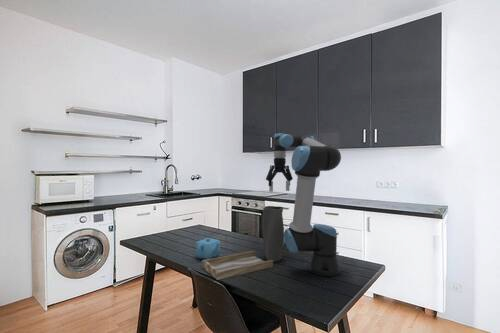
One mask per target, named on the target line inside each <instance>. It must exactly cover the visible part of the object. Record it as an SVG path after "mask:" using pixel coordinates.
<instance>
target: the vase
mask: <svg viewBox="0 0 500 333" xmlns="http://www.w3.org/2000/svg"><path fill="white" fill-rule="evenodd" d="M283 210H284V206H275V205H266V206H264V207H263V210H262V218H261V221H262V222H261V230H262V231H261V234H262V244H263V252H264V253H263V255H264V257H265V259H266V261H269V260H273V263H274V262H280V261H281V260H282V259H283V256H284V254H283V253H284V246H283V238H284V239H285V237H284V232H285V227H284V219H283V218H284V217H283ZM283 227H284V228H283Z"/></svg>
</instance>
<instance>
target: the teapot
mask: <svg viewBox="0 0 500 333" xmlns="http://www.w3.org/2000/svg"><path fill="white" fill-rule="evenodd" d="M221 244H222V242H221V240H220V239H214V238H210V237H206V238H204V239H201V240H197V241H196V242H195V257H197V258H198V259H200V260H202V259H203V260H207V259H212V258H217V256H219V255H221Z"/></svg>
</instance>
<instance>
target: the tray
mask: <svg viewBox="0 0 500 333" xmlns="http://www.w3.org/2000/svg"><path fill="white" fill-rule="evenodd" d="M273 267H274V262H273V260H269V261H267V260H265V261H264V260H263V259H261V258H259V257H257V256H256V251H255V250H252V251H245V252H239V253H235V254H234V253H233V254H230V255H224V256H220V257H219V256H218V257H216V258H213V257H212V258H210V259H203V260H202V259H201V268H202V269H204V270H205V271H206V272H207V273H208V274H209V275H211V276H212V277H213V278H214V279H216V280H217V281H219V280H224V279H228V278H233V277H236V276H240V275H244V274H248V273H253V272H258V271H262V270H267V269H271V268H273Z"/></svg>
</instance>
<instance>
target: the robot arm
mask: <svg viewBox="0 0 500 333" xmlns="http://www.w3.org/2000/svg"><path fill="white" fill-rule="evenodd" d="M286 148H292V149H293V148H295V149H294V151H293V153H292V157H291V160H290V161H291V169H292V170H293V171H294V175H296V176H297V177H296V178H297V179H296V180H297V181H296V189H295V199H294V208H293V219H292V221H291V222H290V223H289V225H288V228H284V243H285V245H286V248H287V250H288V251H289V252H290V253H298V254H299V253H306V252H307V253H308V252H312V256H311V260H310V263H309V272H311V273H313V274H315V275H318V276H322V277H334V276H339V275H340V274H341V273H340V272H341V266H340V265H339V262H338V257H337V248H338V244H337V240H338V239H337V238H338V234H337V229H336V228H335V227H333V226H330V225H326V224H322V223H321V224H320V223H319V224H318V223H315V224H313V226H312V224H311V220H312V213H313V204H314V199H315V198H314V197H315V196H314V195H315V188H316V181H317V180H316V179H317V178H319V177H320V175H321V174H320V173H321V172H322V171H323V172H328V171H331V170H334V169H336V168H337V167H338V166H339V164H340V163H341V160H342V155H341V152H340V150H339V149H338V148H337V147H335V146H333V145H330V144H329V145H326V144H324V143H321V142H320V141H318V140H316V138H315V137H314V136H312V135H299V134H298V135H297V134H296V135H295V134H294V135H293V134H292V135H291V134H290V133H289V134H288V133H287V134H285V133H283V132H282V133H275V134H273V157H274V158H273V164H274V165H271V164H270V165H269V170H268V173H267V175H266V178H265V181H267V182H268V187H269V189H268V190H269V192H271V193H273V192H274V181H273V180H274V178H275V177H276V176H277V174H278V173H281V174H282V175H283V177H284V178H285V191H288V192H289V191H290V186H291V181H292V180H293V176H292V173H291V170H290V166H289V165H286V162H287V161H286Z"/></svg>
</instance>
